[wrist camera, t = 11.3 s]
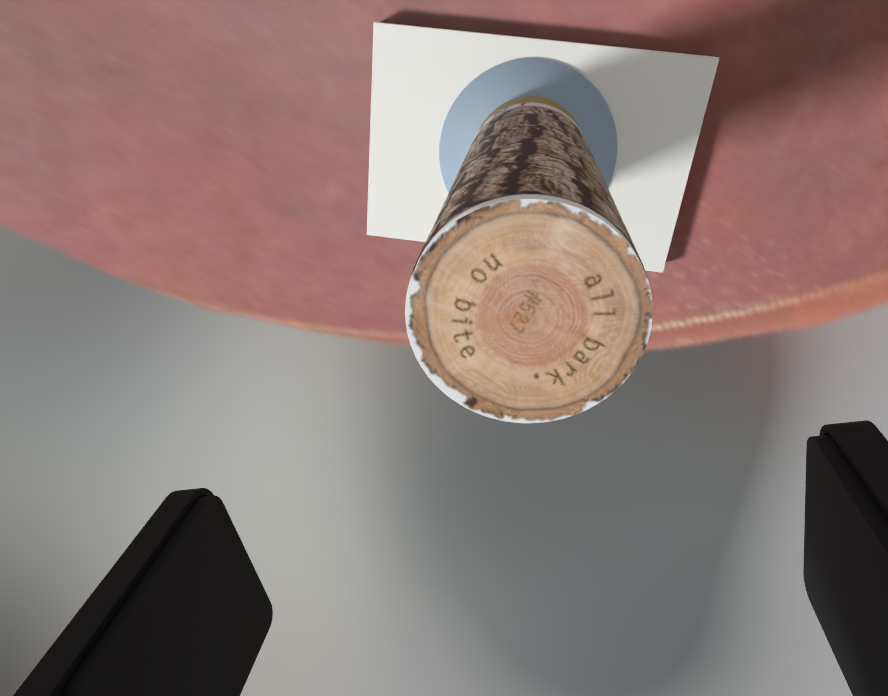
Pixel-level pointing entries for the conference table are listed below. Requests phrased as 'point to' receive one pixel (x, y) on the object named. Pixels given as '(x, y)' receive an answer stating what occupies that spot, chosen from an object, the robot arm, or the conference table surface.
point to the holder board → (542, 75)
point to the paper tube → (529, 275)
